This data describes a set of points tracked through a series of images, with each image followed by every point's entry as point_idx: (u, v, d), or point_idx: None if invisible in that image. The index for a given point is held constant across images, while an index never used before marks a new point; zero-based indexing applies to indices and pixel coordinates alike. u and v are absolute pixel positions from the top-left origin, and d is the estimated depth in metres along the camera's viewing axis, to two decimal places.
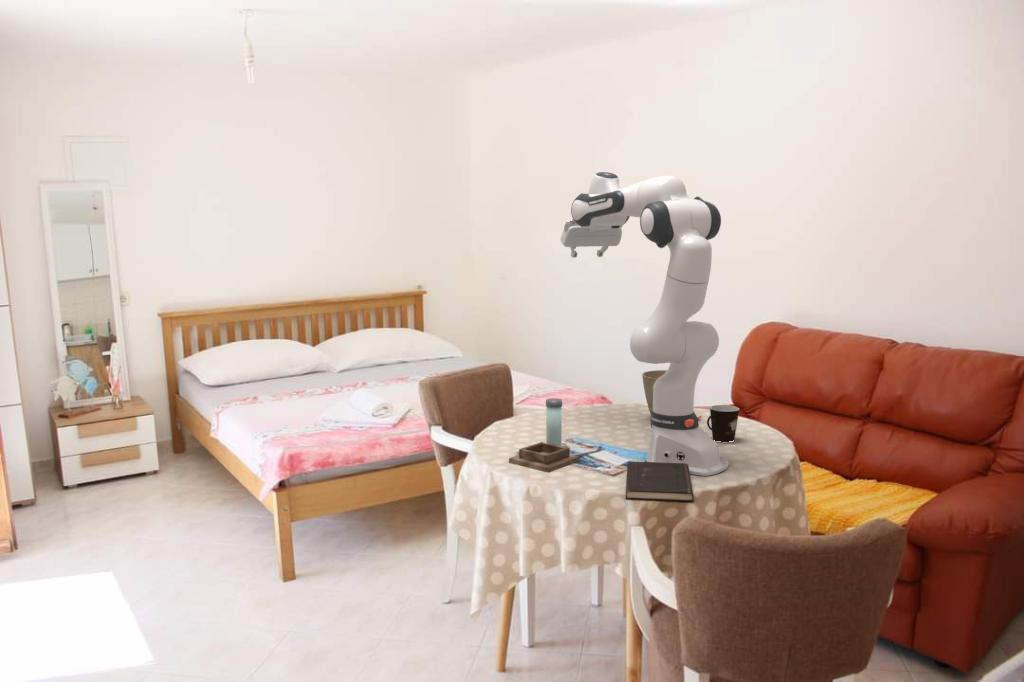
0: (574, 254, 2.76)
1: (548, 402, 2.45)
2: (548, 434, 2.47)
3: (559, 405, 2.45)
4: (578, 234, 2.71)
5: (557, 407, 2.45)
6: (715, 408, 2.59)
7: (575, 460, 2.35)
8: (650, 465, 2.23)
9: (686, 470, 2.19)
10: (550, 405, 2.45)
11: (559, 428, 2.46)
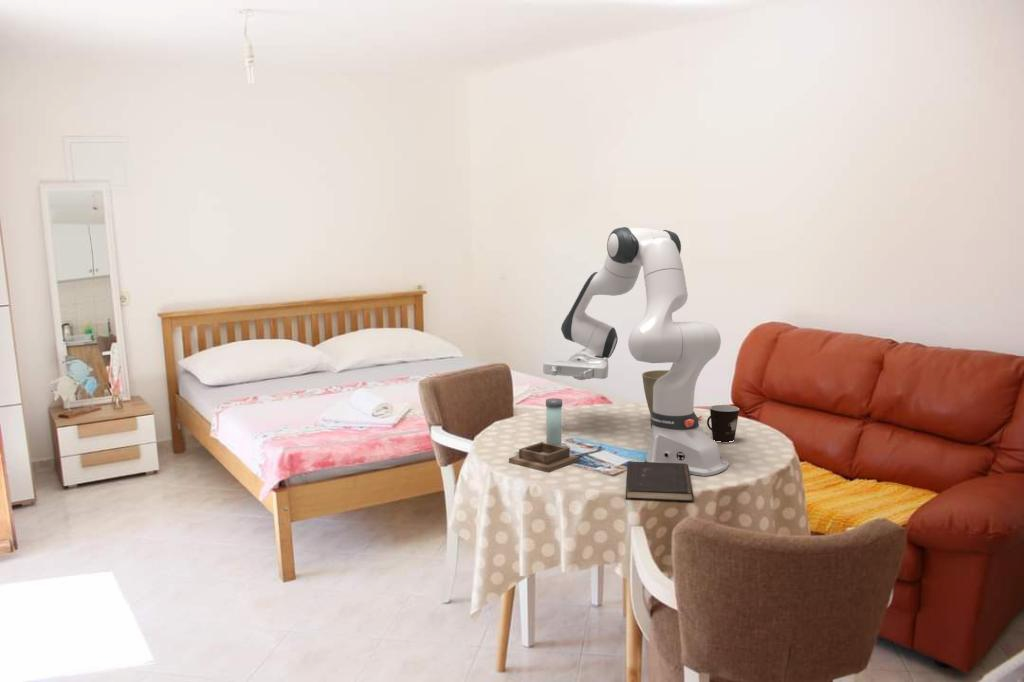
0: (553, 369, 2.60)
1: (548, 402, 2.45)
2: (548, 434, 2.47)
3: (559, 405, 2.45)
4: (560, 362, 2.67)
5: (557, 407, 2.45)
6: (715, 408, 2.59)
7: (575, 460, 2.35)
8: (650, 465, 2.23)
9: (686, 470, 2.19)
10: (550, 405, 2.45)
11: (559, 428, 2.46)
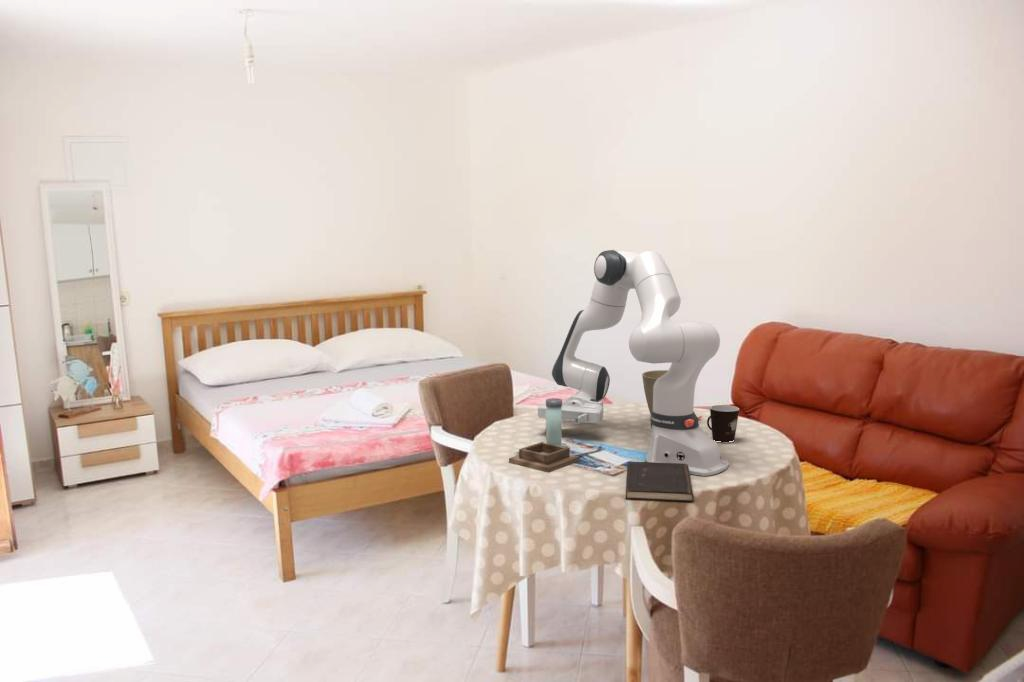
0: None
1: (548, 402, 2.45)
2: (548, 434, 2.47)
3: (559, 405, 2.45)
4: None
5: (557, 407, 2.45)
6: (715, 408, 2.59)
7: (575, 460, 2.35)
8: (650, 466, 2.23)
9: (686, 470, 2.19)
10: (550, 405, 2.45)
11: (559, 428, 2.46)
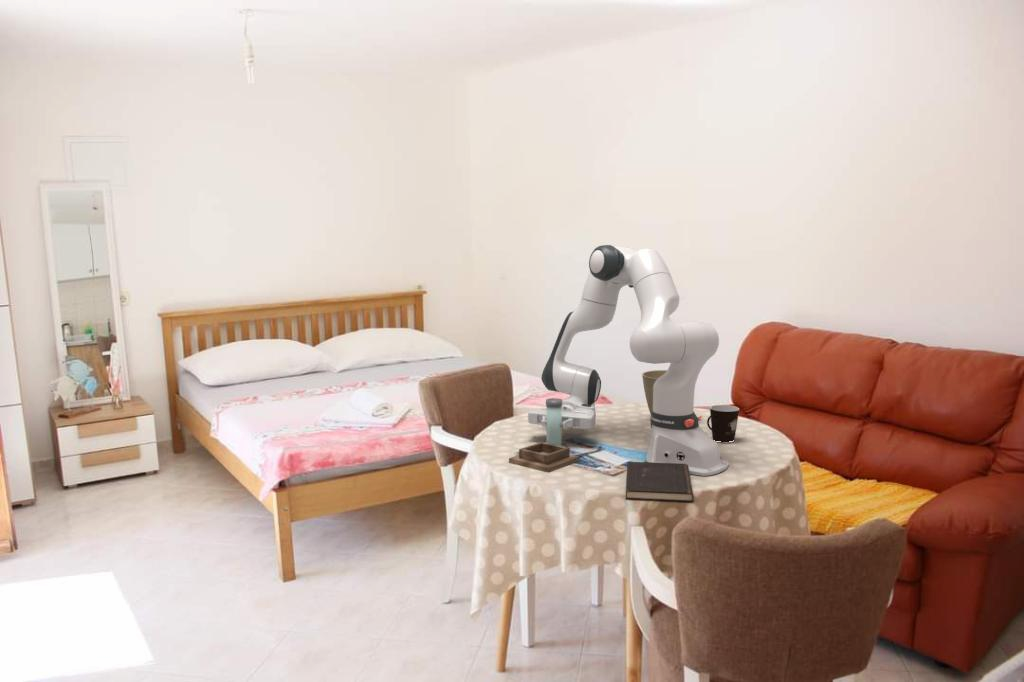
0: (544, 419, 2.49)
1: (548, 402, 2.45)
2: (548, 434, 2.47)
3: (559, 405, 2.45)
4: (545, 410, 2.57)
5: (557, 407, 2.45)
6: (715, 408, 2.59)
7: (575, 460, 2.35)
8: (650, 466, 2.23)
9: (686, 470, 2.19)
10: (550, 405, 2.45)
11: (559, 428, 2.46)
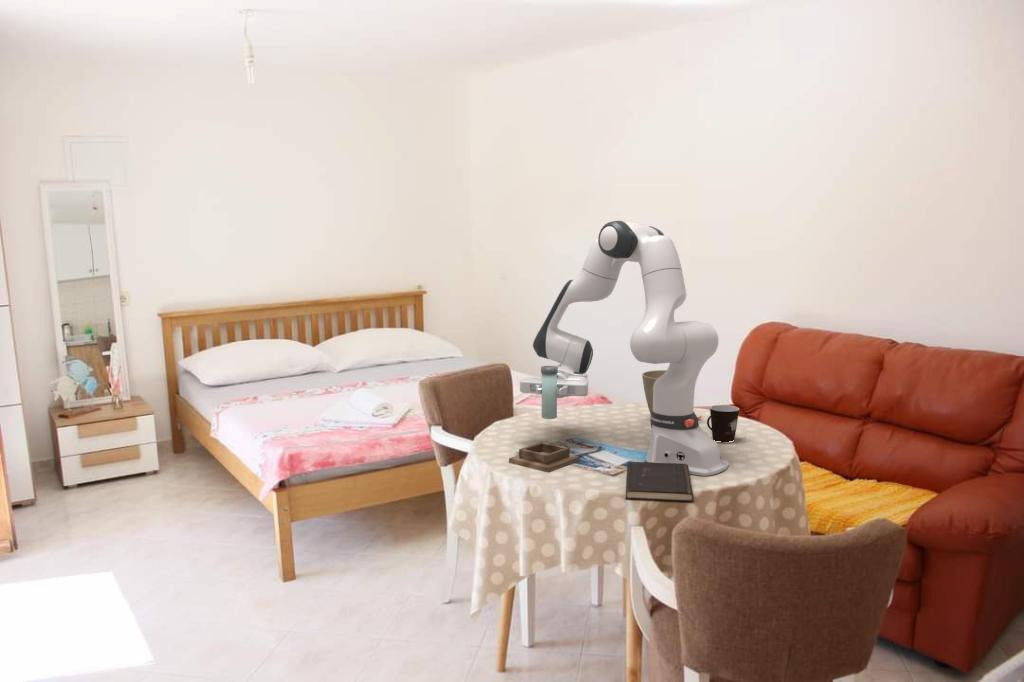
0: (538, 387, 2.43)
1: (544, 369, 2.39)
2: (544, 402, 2.41)
3: (555, 372, 2.40)
4: (537, 379, 2.52)
5: (553, 373, 2.40)
6: (715, 408, 2.59)
7: (575, 460, 2.35)
8: (650, 466, 2.23)
9: (686, 470, 2.19)
10: (546, 372, 2.39)
11: (555, 396, 2.41)
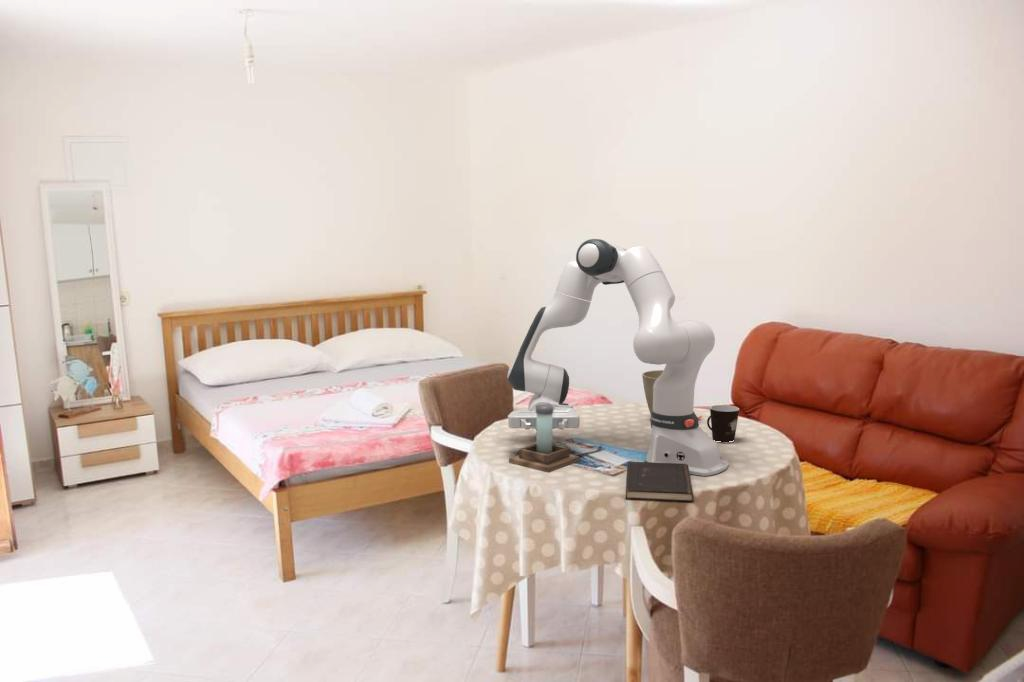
0: (526, 422, 2.35)
1: (541, 409, 2.31)
2: (541, 443, 2.33)
3: (552, 411, 2.33)
4: (523, 413, 2.43)
5: (550, 413, 2.32)
6: (715, 408, 2.59)
7: (575, 460, 2.35)
8: (650, 466, 2.23)
9: (686, 470, 2.19)
10: (543, 412, 2.31)
11: (551, 436, 2.34)
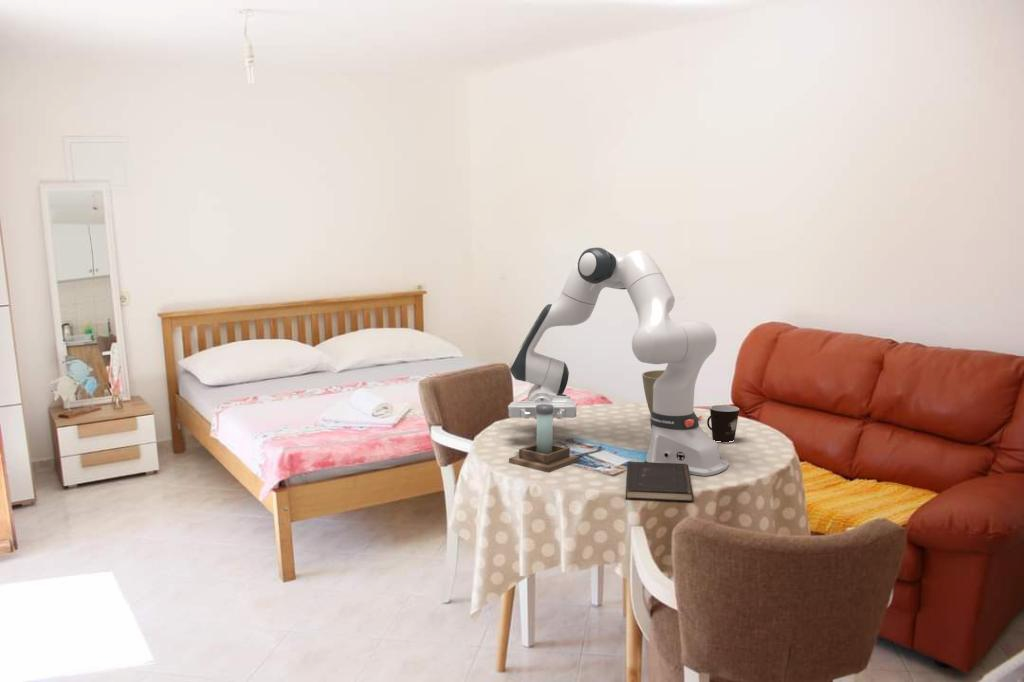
0: (525, 411, 2.47)
1: (541, 409, 2.31)
2: (541, 443, 2.33)
3: (552, 411, 2.32)
4: (523, 403, 2.55)
5: (550, 413, 2.32)
6: (715, 408, 2.59)
7: (575, 460, 2.35)
8: (650, 466, 2.23)
9: (686, 470, 2.19)
10: (544, 412, 2.31)
11: (551, 436, 2.34)
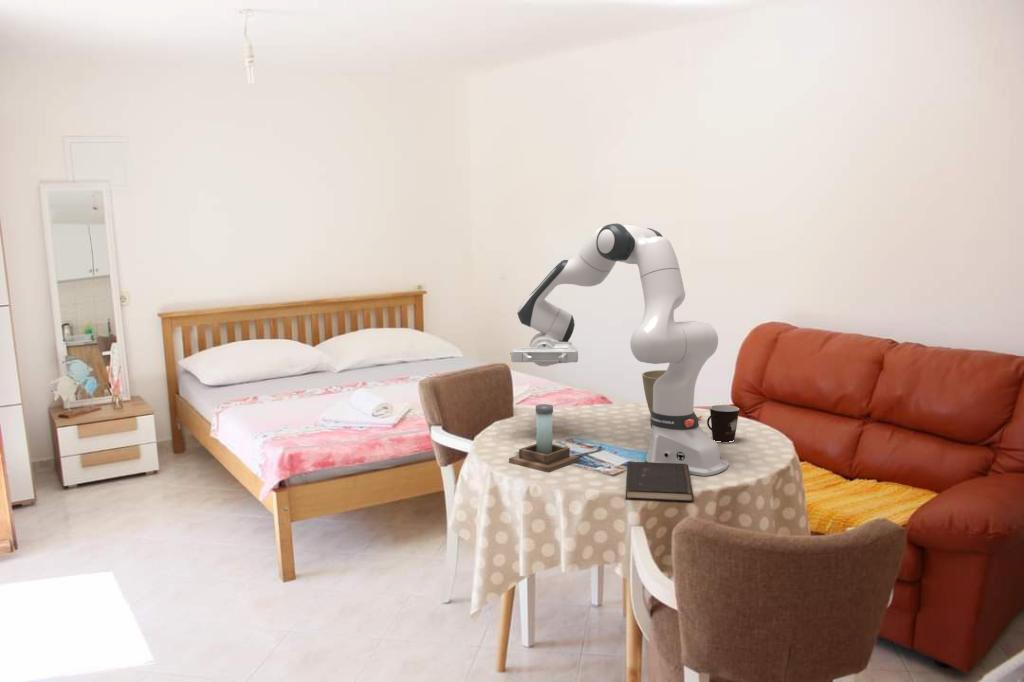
0: (528, 355, 2.50)
1: (541, 409, 2.31)
2: (540, 442, 2.33)
3: (552, 411, 2.33)
4: (525, 349, 2.58)
5: (550, 413, 2.32)
6: (715, 408, 2.59)
7: (575, 460, 2.35)
8: (650, 466, 2.23)
9: (686, 470, 2.19)
10: (543, 412, 2.31)
11: (551, 435, 2.34)
